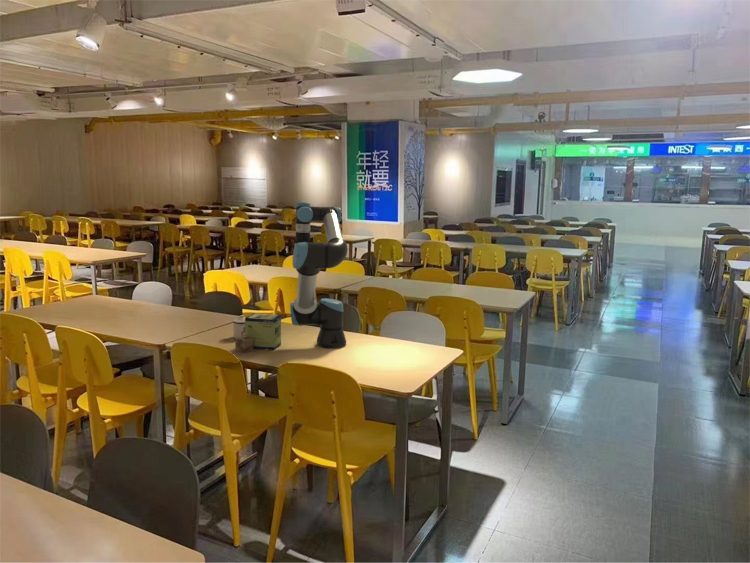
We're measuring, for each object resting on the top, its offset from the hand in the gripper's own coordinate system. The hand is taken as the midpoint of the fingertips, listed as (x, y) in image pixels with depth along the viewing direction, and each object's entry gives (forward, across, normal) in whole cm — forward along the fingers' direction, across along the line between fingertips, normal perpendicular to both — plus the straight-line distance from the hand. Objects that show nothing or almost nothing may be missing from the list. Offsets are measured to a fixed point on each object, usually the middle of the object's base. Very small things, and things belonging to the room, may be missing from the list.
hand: (302, 276), depth 300 cm
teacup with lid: (+33, -25, -18) cm, 45 cm away
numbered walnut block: (+33, -7, -37) cm, 50 cm away
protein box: (+33, -4, -27) cm, 43 cm away
